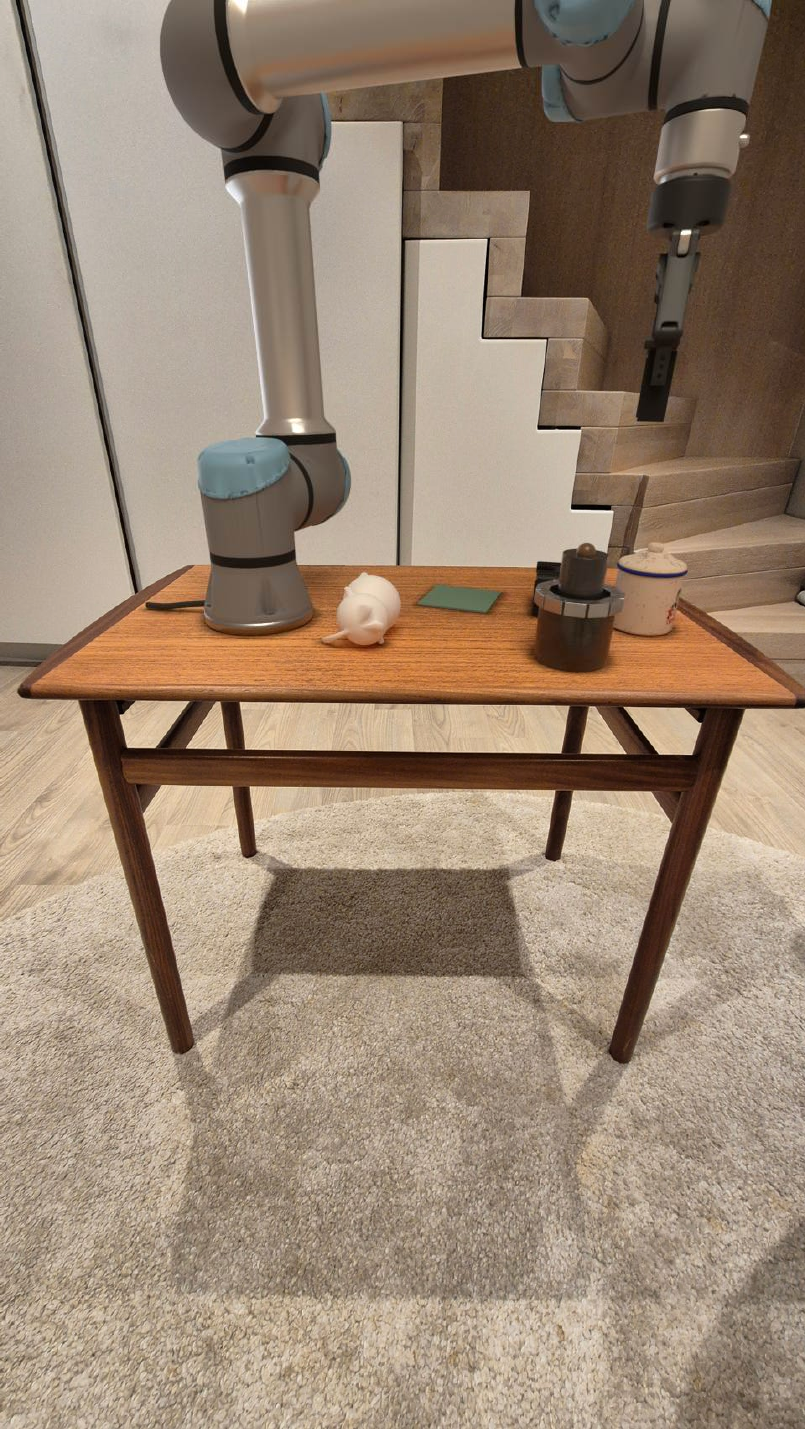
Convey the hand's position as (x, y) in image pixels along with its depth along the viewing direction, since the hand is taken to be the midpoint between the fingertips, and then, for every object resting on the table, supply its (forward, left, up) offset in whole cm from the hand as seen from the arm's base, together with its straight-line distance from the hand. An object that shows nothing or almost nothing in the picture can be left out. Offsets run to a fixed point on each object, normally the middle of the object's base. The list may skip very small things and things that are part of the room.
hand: (648, 420), depth 70 cm
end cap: (-8, +9, -27) cm, 29 cm away
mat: (-23, +8, -27) cm, 36 cm away
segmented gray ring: (-4, -10, -20) cm, 23 cm away
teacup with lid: (+4, +7, -27) cm, 28 cm away
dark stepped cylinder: (-4, -10, -27) cm, 29 cm away
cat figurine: (-31, -13, -27) cm, 43 cm away
